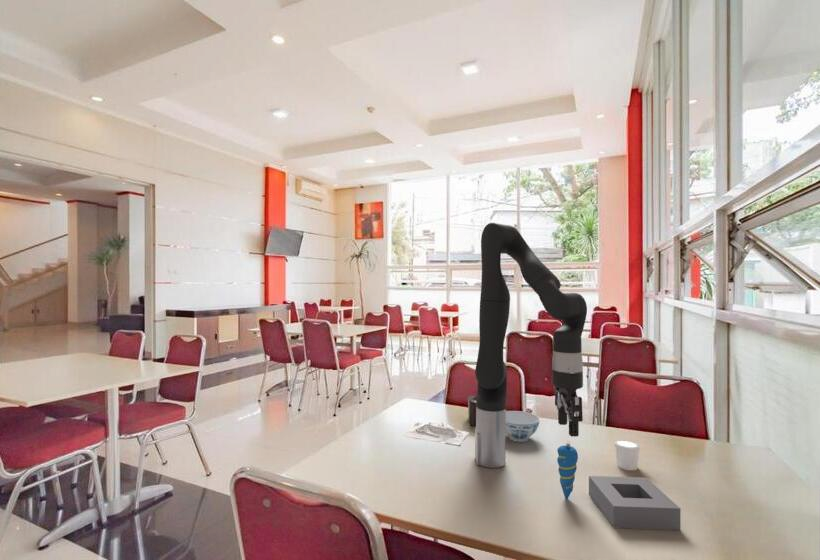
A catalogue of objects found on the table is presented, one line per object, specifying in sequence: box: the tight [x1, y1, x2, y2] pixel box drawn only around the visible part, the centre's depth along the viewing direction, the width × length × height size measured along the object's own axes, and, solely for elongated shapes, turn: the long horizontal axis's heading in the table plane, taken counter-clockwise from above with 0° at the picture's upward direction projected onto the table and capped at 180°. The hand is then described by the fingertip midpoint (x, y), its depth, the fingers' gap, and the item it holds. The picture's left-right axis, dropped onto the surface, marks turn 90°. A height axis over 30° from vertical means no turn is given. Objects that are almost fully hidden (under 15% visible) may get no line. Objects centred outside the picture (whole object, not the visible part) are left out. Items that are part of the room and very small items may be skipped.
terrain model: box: [403, 421, 470, 447], centre depth 153 cm, size 17×23×5 cm
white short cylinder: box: [614, 439, 640, 471], centre depth 127 cm, size 7×7×7 cm
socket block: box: [588, 475, 681, 531], centre depth 102 cm, size 15×15×5 cm
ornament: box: [556, 441, 579, 500], centre depth 108 cm, size 5×5×15 cm
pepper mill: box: [467, 394, 477, 427], centre depth 169 cm, size 16×11×18 cm
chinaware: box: [506, 410, 541, 443], centre depth 150 cm, size 15×15×8 cm
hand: (568, 430), depth 108 cm, fingers open, 8 cm apart
